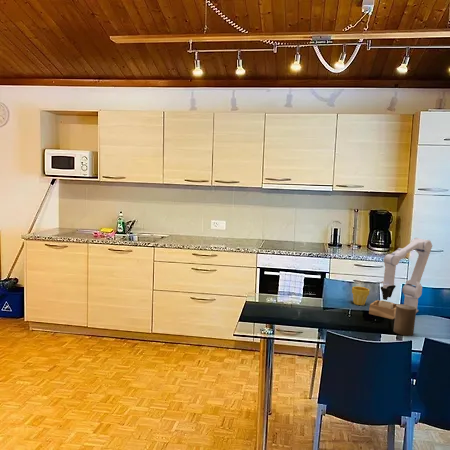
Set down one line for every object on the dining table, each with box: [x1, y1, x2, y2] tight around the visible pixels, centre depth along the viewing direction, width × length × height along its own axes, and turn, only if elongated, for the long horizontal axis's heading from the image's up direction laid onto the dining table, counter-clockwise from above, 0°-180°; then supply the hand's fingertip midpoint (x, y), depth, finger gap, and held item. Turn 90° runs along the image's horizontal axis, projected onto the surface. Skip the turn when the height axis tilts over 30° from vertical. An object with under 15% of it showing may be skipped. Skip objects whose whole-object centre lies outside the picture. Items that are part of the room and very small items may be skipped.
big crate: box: [368, 299, 398, 320], centre depth 270 cm, size 14×14×6 cm
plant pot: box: [351, 285, 370, 306], centre depth 288 cm, size 10×10×10 cm
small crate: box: [379, 299, 395, 309], centre depth 269 cm, size 5×7×6 cm
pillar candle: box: [393, 303, 417, 337], centre depth 238 cm, size 10×10×15 cm
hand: (386, 298), depth 269 cm, fingers open, 7 cm apart
